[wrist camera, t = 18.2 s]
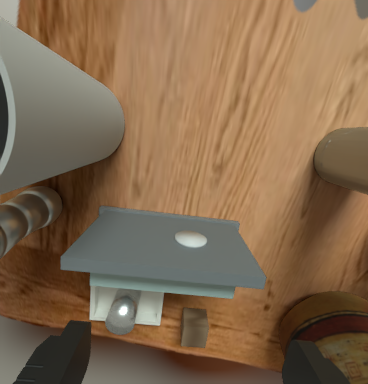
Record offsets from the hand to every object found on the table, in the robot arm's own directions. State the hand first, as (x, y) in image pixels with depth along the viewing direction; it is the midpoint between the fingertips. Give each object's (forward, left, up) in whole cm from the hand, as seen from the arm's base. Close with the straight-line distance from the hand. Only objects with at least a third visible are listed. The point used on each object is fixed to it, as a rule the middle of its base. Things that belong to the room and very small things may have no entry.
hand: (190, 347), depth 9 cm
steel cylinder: (+7, +21, -30) cm, 37 cm away
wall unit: (+1, +9, -30) cm, 31 cm away
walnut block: (-6, +27, -30) cm, 41 cm away
